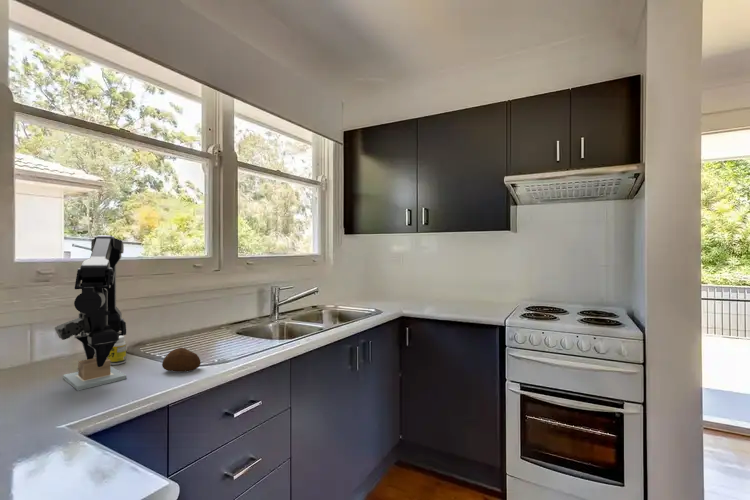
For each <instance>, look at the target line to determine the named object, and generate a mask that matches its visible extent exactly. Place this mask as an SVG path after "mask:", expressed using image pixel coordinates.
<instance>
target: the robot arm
mask: <svg viewBox="0 0 750 500" xmlns="http://www.w3.org/2000/svg"><path fill="white" fill-rule="evenodd" d="M90 245H91V247H90V251H91V254H90V257H89V258H88V259H85V260H83V261H82V263H81V265H80V267H78V268H77V271H76V276H75V277H76V278H75V282H74V290H81V293H79V294H77V296H76V297H75V299H74V302H73V304H74V308H75V309H76V310H77V311H78V312H79V313H78V318H74V319H72V320H68V321H67V322H64V323H62V324H58V325H57V326H55V327H54V330H55V332H56V334H57V337H58V338H59V339H60V340H68V339H70V338H71V337H73V336H74V338H75V339H76V340H78V341H79V342H80V343H81V344H82V347H83V351H84V353H85V357H86V360H87V359H93V358H96V362H97V366H98V367H102V366H103V365H104V363H105V361H106V359H108V355H109V353H110V351H111V350H112V348H113V346H114V345H115V343H116V342H117V341H118V340H119V336H126V335H127V323H126V321H125V319H124V318H123V317H122V311H121V310H120V309H119V308H118V306H117V264H118V263H119V262H120V260H121V259H122V254H124V247H125V246H124V242H123V240H122V239H119V238H116V237H115V236H112V235H101V234H100V235H99V234H97V235H94V238H93V239H91V244H90Z"/></svg>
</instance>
